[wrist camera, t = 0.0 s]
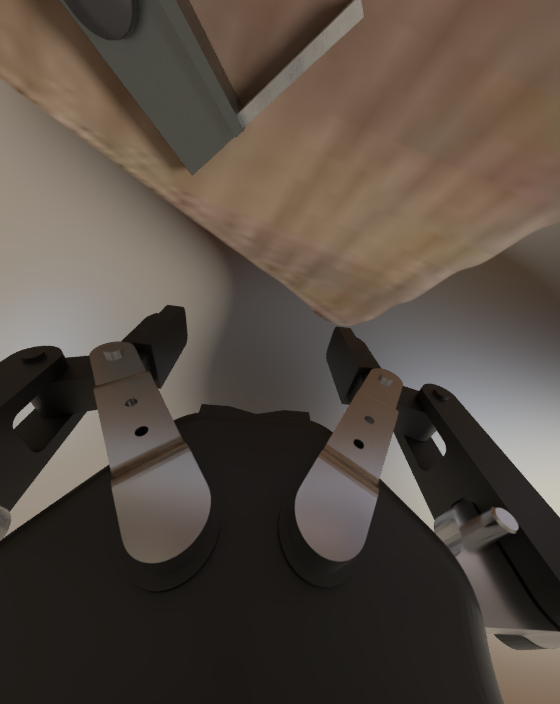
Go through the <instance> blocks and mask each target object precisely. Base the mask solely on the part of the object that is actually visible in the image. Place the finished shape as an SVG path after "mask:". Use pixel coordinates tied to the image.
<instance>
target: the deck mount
mask: <svg viewBox="0 0 560 704" xmlns="http://www.w3.org/2000/svg"><path fill="white" fill-rule="evenodd" d="M60 1H61V3H62V4H63V5H64V7H65V8H66V9H67V11H68V12H69V13H70V15H71V16H72V17H73V19H74V20H75V21H76V23H77V24H78V25H79V27H80V28H81V29H82V31H83V32H84V33H85V35H86V36H87V37H88V38H89V40H90V41H91V42H92V44H93V45H94V46H95V48H96V49H97V50H98V52H99V53H100V54H101V56H102V57H103V58H104V60H105V61H106V62H107V64H108V65H109V66H110V68H111V69H112V70H113V72H114V73H115V74H116V76H117V77H118V78H119V79H120V81H121V82H122V83H123V85H124V86H125V87H126V89H127V90H128V91H129V93H130V94H131V95H132V97H133V98H134V99H135V101H136V102H137V103H138V105H139V106H140V107H141V109H142V110H143V111H144V113H145V114H146V115H147V117H148V118H149V119H150V121H151V122H152V123H153V124H154V126H155V127H156V128H157V130H158V131H159V132H160V134H161V135H162V136H163V138H164V139H165V140H166V142H167V143H168V144H169V146H170V147H171V148H172V150H173V151H174V152H175V154H176V155H177V156H178V158H179V159H180V160H181V162H182V163H183V164H184V165H185V167H186V168H187V169H188V171H189V172H190V173H191V175H194V174H195V173H196V172H197V171H198V170H199V169H200V168H201V167H202V166H203V165H204V164H206V163H207V162H208V161H209V160H210V159H211V158H212V157H213V156H214V155H215V154H216V153H217V152H219V151H220V150H221V149H222V148H223V147H224V146H225V145H226V144H227V143H228V142H229V141H230V140H232V139H233V138H234V137H235V138H236V137H237V136H238V135H239V134H240V133H241V132H242V131H244V129H245V126H246V125H247V124H248V123H249V122H250V121H251V120H253V119H254V118H255V117H256V116H257V115H258V114H259V113H260V112H261V111H262V110H263V109H264V108H266V107H267V106H268V105H269V104H270V103H271V102H272V101H273V100H274V99H275V98H276V97H277V96H279V95H280V94H281V93H282V92H283V91H284V90H285V89H286V88H287V87H288V86H289V85H290V84H292V83H293V82H294V81H295V80H296V79H297V78H298V77H299V76H300V75H301V74H302V73H304V72H305V71H306V70H307V69H308V68H309V67H310V66H311V65H312V64H313V63H314V62H315V61H317V60H318V59H319V58H320V57H321V56H322V55H323V54H324V53H325V52H326V51H327V50H328V49H330V48H331V47H332V46H333V45H334V44H335V43H336V42H337V41H338V40H339V39H340V38H341V37H343V36H344V35H345V34H346V33H347V32H348V31H349V30H350V29H351V28H352V27H353V26H354V25H356V24H357V23H358V22H359V21H360V20H361V19H362V18H363V17H364V16H363V9H362V3H361V0H351V1H350V2H349V3H348V4H347V5H346V6H345V7H344V8H343V9H342V10H341V11H340V12H339V13H338V14H337V15H336V16H335V17H334V18H333V19H332V20H331V21H330V22H329V23H328V24H327V25H326V26H325V27H324V28H323V29H322V30H321V31H320V32H319V33H318V34H317V35H316V36H315V37H314V38H313V39H312V40H311V41H310V42H309V43H308V44H307V45H305V46H304V47H303V48H302V49H301V50H300V51H299V52H298V53H297V54H296V55H295V56H294V57H293V58H292V59H291V60H290V61H289V62H288V63H287V64H286V65H285V66H284V67H283V68H282V69H281V70H280V71H279V72H278V73H277V74H276V75H275V76H274V77H273V78H272V79H271V80H270V81H269V82H268V83H267V84H266V85H265V86H264V87H263V88H262V89H261V90H259V91H258V92H257V93H256V94H255V95H254V96H253V97H252V98H251V99H250V100H249V101H248V102H247V103H246V104H245V105H244V106H243V107H242V106H241V104H240V102H239V100H238V98H237V96H236V94H235V92H234V90H233V88H232V86H231V84H230V82H229V80H228V78H227V76H226V74H225V72H224V70H223V68H222V66H221V64H220V62H219V60H218V58H217V56H216V54H215V52H214V50H213V48H212V46H211V43H210V41H209V39H208V37H207V35H206V33H205V31H204V29H203V27H202V25H201V23H200V21H199V19H198V17H197V15H196V13H195V11H194V9H193V7H192V5H191V3H190V1H189V0H60Z"/></svg>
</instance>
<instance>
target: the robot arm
mask: <svg viewBox="0 0 560 704" xmlns="http://www.w3.org/2000/svg"><path fill="white" fill-rule="evenodd" d="M187 335H188V334H187V324H186V314H185V309H184V307H180V306H172V305H167V306H165V308H164V309H163V310H162V311H161V312H160V313H155V314H153V315H150V316H148V317H146V318H145V319H144V320H143V321H142V322H141V324H139V325H138V326H137V327H136V328H135V329H134V330H133V331H131V332H130V333H129V334H128V335H127V336H126V337H125V338H124V339H123V340H122V341H121V342H110V343H106V344H103V345H100V346H98V347H96V348H95V349H93V350H92V351H91V353H90V355H89V356H80V357H68V358H65V356H64V355H63V353H62V351H61V349H59V348H57V347H54V346H37V347H32V348H27V349H24V350H21V351H18V352H16V353H14V354H12V355H10V356H9V357H7V358H6V359H4V360H3V361H1V362H0V704H504V702H503V699H502V697H501V693H500V690H499V686H498V683H497V680H496V676H495V673H494V669H493V665H492V661H491V657H490V652H489V647H488V642H487V636H486V633H489V634H490V633H491V634H494V635H495V636H496V637H497V638H498V639H499V640H500V641H502V642H503V643H504V644H506V645H507V646H509V647H511V648H513V649H516V650H533V649H555V648H560V518H559V516H558V515H557V514H556V513H555V512H554V511H553V509H552V508H551V507H550V506H549V505H548V504H547V503H546V501H545V500H544V499H543V498H542V497H541V496H540V494H539V493H538V492H537V491H536V490H535V489H534V488H533V486H532V485H531V484H530V483H529V482H528V481H527V479H526V478H525V477H524V476H523V475H522V474H521V472H520V471H519V470H518V469H517V468H516V467H515V465H514V464H513V463H512V462H511V461H510V460H509V459H508V457H507V456H506V455H505V454H504V453H503V452H502V450H501V449H500V448H499V447H498V446H497V445H496V443H494V441H493V440H492V439H491V438H490V436H489V435H488V434H487V433H486V432H485V431H484V429H483V428H482V427H481V426H480V425H479V424H478V422H476V420H475V419H474V418H473V417H472V416H471V414H470V413H469V412H468V411H467V410H466V409H465V407H464V406H463V405H462V404H461V403H460V402H459V401H458V399H457V398H456V397H455V396H454V395H453V394H452V393H450V392H449V391H448V390H446V389H444V388H442V387H440V386H437V385H434V384H425V385H423V387H422V388H421V389H420V391H417V390H414V389H411V388H408V387H404V386H403V383H402V381H401V379H400V378H399V377H397V375H395V374H393V373H392V372H390V371H388V370H385V369H381V367H380V366H379V364H378V363H377V361H376V360H375V358H374V357H373V355H372V353H371V352H370V351H369V349H368V347H367V346H366V344H365V343H364V342H363V341H361V340H360V339H359V338H356V336H355V335H354V333H353V332H352V330H351V328H345V327H335V329H334V331H333V334H332V337H331V340H330V343H329V346H328V349H327V354H326V359H327V363H328V365H329V368H330V371H331V374H332V377H333V380H334V383H335V386H336V389H337V392H338V394H339V397H340V400H341V403H342V404H348V405H349V407H348V408H347V410H346V412H345V414H344V415H343V417H342V419H341V420H340V422H339V424H338V425H337V427H336V429H335V430H334V432H331V431H330V430H329V429H327V428H326V427H324V426H322V425H320V424H318V423H316V422H313V421H310V416H309V412H299V411H286V410H283V411H275V412H269V413H262V414H254V413H251V412H247V411H244V410H241V409H237V408H234V407H230V406H220V405H207V404H202V405H201V408H200V411H199V413H194V414H190V415H186V416H183V417H180V418H178V419H176V420H174V421H173V419H172V417H171V415H170V413H169V411H168V408H167V406H166V405H165V402H164V400H163V398H162V396H161V394H160V392H159V390H158V388H159V389H161V387H162V386H163V384H164V382H165V380H166V379H167V377H168V375H169V373H170V372H171V370H172V368H173V366H174V365H175V363H176V361H177V359H178V358H179V356H180V354H181V352H182V351H183V349H184V347H185V345H186V343H187ZM29 402H31V403H32V404H33V406H34V407H35V409H34V410H33V411H32V412H31V413H30V414H29V415H28V416H27V417H26V418H25V419H24V420H23V421H22V422H21V423H20V424H19V425H18V426H17V427H16V428H15V429H14V430H13V421H14V418H15V416H16V415H17V414H18V413H19V412H20V411H21V410H22V409H23V408H24V407H25V406H26V405H27V404H28V403H29ZM92 410H98V413H99V418H100V422H101V427H102V432H103V436H104V441H105V446H106V451H107V455H108V460H109V465H108V466H106V467H105V468H104V469H102V470H100V471H99V472H97V473H96V474H95V475H93V476H92V477H90V478H89V479H88V480H86V481H85V482H84V483H82V484H80V485H79V486H77V487H76V488H75V489H73V490H72V491H70V492H69V493H67V494H66V495H64V496H63V497H62V498H60V499H59V500H57V501H56V502H54V503H53V504H52V505H50V506H49V507H47V508H46V509H44V510H43V511H41V512H40V513H39V514H37V515H36V516H34V517H33V518H32V519H30V520H29V521H27V522H26V523H24V524H23V525H21V526H20V527H18V528H17V529H16V530H14V531H13V532H11V533H10V534H9V535H7V536H6V537H5V538H4V536H5V534H6V533H7V531H8V529H9V526H10V523H11V515H10V511H11V509H12V508H13V507H14V505H15V504H16V503H17V501H18V500H19V499H20V498H21V496H22V495H23V494H24V492H25V491H26V490H27V488H28V487H29V486H30V484H31V483H32V482H33V481H34V479H35V478H36V477H37V476H38V474H39V473H40V472H41V470H42V469H43V468H44V466H45V465H46V464H47V463H48V461H49V460H50V459H51V457H52V456H53V455H54V453H55V452H56V451H57V450H58V448H59V447H60V446H61V444H62V443H63V442H64V441H65V439H66V438H67V437H68V435H69V434H70V433H71V431H72V430H73V429H74V428H75V426H76V425H77V424H78V422H79V421H80V420H81V418H82V417H83V415H85V413H86V412H87V411H92ZM436 431H438V433H439V434H440V436H441V437H442V439H443V440H444V442H445V445H446V453H445V455H444V456H442V454H441V452H440V451H439V449H438V447H437V446H436V444H435V443H434V441H433V439H432V438H431V436H432V435H433V434H434V433H435V432H436ZM393 432H394V434H395V436H396V438H397V440H398V443H399V445H400V447H401V449H402V451H403V453H404V455H405V458H406V460H407V462H408V464H409V466H410V468H411V471H412V473H413V475H414V477H415V479H416V481H417V483H418V486H419V488H420V490H421V492H422V494H423V496H424V499H425V501H426V503H427V505H428V507H429V509H430V511H431V514H432V516H433V518H434V520H435V522H434V532H435V533H434V532H433V531H432V530H431V529H430V528H429V527H428V526H427V525H426V524H425V523H424V522H423V521H422V520H421V519H420V518H419V517H418V516H417V515H416V514H415V513H414V512H413V511H412V510H411V509H410V508H409V507H408V506H407V505H406V504H405V503H404V502H403V501H402V500H401V499H400V498H399V497H398V496H397V495H396V494H395V493H394V492H393V491H392V490H391V489H390V488H389V487H388V486H387V485H386V484H385V483H384V482H383V481H382V480H381V479H380V475H381V471H382V468H383V464H384V461H385V458H386V454H387V451H388V447H389V444H390V441H391V437H392V434H393Z"/></svg>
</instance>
